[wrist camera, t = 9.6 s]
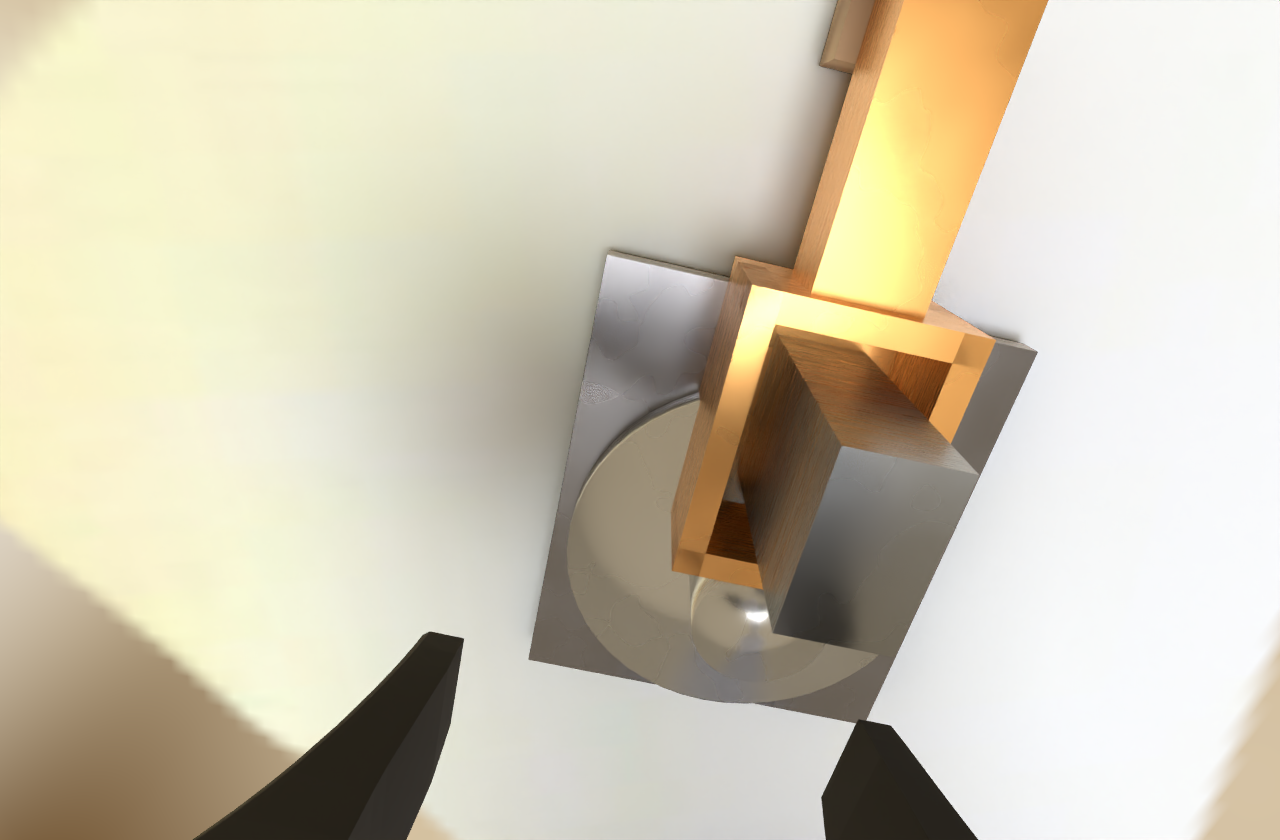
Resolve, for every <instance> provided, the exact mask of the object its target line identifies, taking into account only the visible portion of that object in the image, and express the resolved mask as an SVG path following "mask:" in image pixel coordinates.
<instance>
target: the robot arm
mask: <svg viewBox="0 0 1280 840" xmlns="http://www.w3.org/2000/svg"><path fill="white" fill-rule="evenodd" d="M463 642H464V638H459V637H454V636H449V635H444V634H439V633H435V632H428V633H426V634H424V635H422V637H421V638H420V639H419V640H418V642H417V643H416V644H415V645H414V647H413V648H412V649H411V650H410V651H409V652H408V653H407V655H406V656H405V657H404V658H403V659H402V660H401V661H400V663H399V664H398V665H397V666H396V667H395V668H394V669H393V670H392V671H391V672H390V673H389V674H388V675H387V676H386V678H385V679H384V680H383V681H382V682H381V683H380V684H379V685H378V686H377V687H376V688H375V689H374V690H373V691H372V692H371V693H370V694H369V695H368V696H367V697H366V698H365V699H364V700H363V701H362V702H361V703H360V704H359V705H358V706H357V707H356V708H355V709H354V710H353V711H351V712H350V713H349V714H348V715H347V716H346V717H345V718H344V719H343V720H342V721H341V722H340V723H339V724H338V725H337V726H336V727H335V728H333V729H332V730H331V731H330V732H329V733H328V734H327V735H325V736H324V737H323V738H322V739H321V740H320V741H319V742H318V743H316V744H315V745H314V746H313V747H312V748H311V749H310V750H309V751H307V752H306V753H305V754H304V755H303V756H302V757H301V758H299V759H298V760H297V761H296V762H295V763H294V764H292V765H291V766H290V767H289V768H287V769H286V770H285V771H284V772H283V773H281V774H280V775H279V776H278V777H277V778H275V779H274V780H273V781H272V782H270V783H269V784H268V785H267V786H265V787H264V788H263V789H261V790H260V791H259V792H257V793H256V794H255V795H254V796H252V797H251V798H250V799H248V800H247V801H246V802H244V803H243V804H242V805H240V806H239V807H238V808H236V809H235V810H234V811H232V812H231V813H230V814H228V815H227V816H225V817H224V818H222V819H221V820H220V821H218V822H217V823H216V824H214V825H213V826H211V827H210V828H208V829H207V830H206V831H204V832H203V833H201V834H200V835H199V836H197V837H196V838H194V839H193V840H406V839H407V837H408V835H409V832H410V830H411V828H412V825H413V823H414V821H415V819H416V816H417V814H418V812H419V810H420V807H421V805H422V803H423V801H424V798H425V796H426V794H427V791H428V789H429V787H430V784H431V782H432V779H433V776H434V773H435V770H436V767H437V764H438V761H439V758H440V755H441V752H442V749H443V746H444V742H445V739H446V736H447V733H448V730H449V727H450V724H451V717H452V711H453V705H454V699H455V692H456V686H457V680H458V673H459V667H460V661H461V655H462V648H463ZM821 798H822V808H823V817H824V827H825V836H826V840H978V839H977V837H976V836H975V835H974V834H973V832H972V831H971V830H970V829H969V827H968V826H967V825H966V823H965V822H964V821H963V820H962V818H961V817H960V816H959V814H958V813H957V812H956V810H955V809H954V808H953V807H952V805H951V804H950V803H949V801H948V800H947V799H946V797H945V796H944V795H943V793H942V792H941V791H940V789H939V788H938V787H937V785H936V784H935V783H934V781H933V780H932V779H931V777H930V776H929V775H928V773H927V772H926V771H925V769H924V768H923V767H922V766H921V764H920V763H919V762H918V760H917V759H916V758H915V756H914V755H913V754H912V752H911V751H910V750H909V748H908V747H907V746H906V744H905V743H904V742H903V740H902V739H901V738H900V737H899V735H898V734H897V733H896V732H895V730H894V729H893V728H892V727H891V726H890V725H885V724H880V723H875V722H870V721H865V720H860V719H858V721H857V723H856V725H855V727H854V730H853V732H852V734H851V736H850V738H849V740H848V742H847V744H846V746H845V749H844V751H843V753H842V755H841V757H840V759H839V761H838V763H837V766H836V768H835V770H834V772H833V774H832V776H831V778H830V780H829V782H828V785H827V787H826V789H825V791H824V793H823V795H822V797H821Z"/></svg>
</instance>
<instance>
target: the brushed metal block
mask: <svg viewBox="0 0 1280 840" xmlns="http://www.w3.org/2000/svg"><path fill="white" fill-rule="evenodd" d="M737 470H738V475H739V479H740V484H741V489H742V493H743V498H744V503H745V507H746V512H747V517H748V521H749V526H750V531H751V535H752V540H753V544H754V549H755V554H756V558H757V563H758V568H759V572H760V577H761V582H762V586H763V591H764V596H765V600H766V605H767V610H768V614H769V619H770V623H771V628H772V633H774V634H779V635H784V636H789V637H794V638H799V639H804V640H809V641H814V642H819V643H824V644H829V645H834V646H839V647H844V648H849V649H854V650H859V651H864V652H869V653H874V654H879V655H884V656H889V657H894V658H895V656H896V653H897V651H898V649H899V647H900V645H901V643H902V641H903V638H904V636H905V634H906V632H907V630H908V628H909V625H910V623H911V621H912V619H913V617H914V615H915V613H916V610H917V608H918V606H919V604H920V602H921V600H922V598H923V595H924V593H925V591H926V589H927V587H928V585H929V583H930V580H931V578H932V576H933V574H934V572H935V570H936V568H937V565H938V563H939V561H940V559H941V557H942V555H943V552H944V550H945V548H946V546H947V544H948V542H949V540H950V537H951V535H952V533H953V531H954V529H955V527H956V525H957V522H958V520H959V518H960V516H961V514H962V512H963V510H964V507H965V505H966V503H967V501H968V499H969V497H970V495H971V492H972V490H973V488H974V486H975V484H976V482H977V480H978V477H979V474H978V473H977V472H976V471H975V470H974V469H973V468H972V466H971V465H970V464H969V463H968V462H967V461H966V460H965V459H964V458H963V457H962V456H961V455H960V454H959V453H958V451H957V450H956V449H955V448H954V447H953V446H952V445H951V444H950V443H949V442H948V441H947V440H946V439H945V438H944V436H943V435H942V434H941V433H940V432H939V431H938V430H937V429H936V428H935V427H934V426H933V425H932V424H931V422H930V421H929V420H928V419H927V418H926V417H925V416H924V415H923V414H922V413H921V412H920V411H919V410H918V409H917V407H916V406H915V405H914V404H913V403H912V402H911V401H910V400H909V399H908V398H907V397H906V396H905V395H904V394H903V392H902V391H901V390H900V389H899V388H898V387H897V386H896V385H895V384H894V383H893V382H892V381H891V380H890V378H889V377H888V376H887V375H886V374H885V373H884V372H883V371H882V370H881V369H880V368H879V367H878V366H877V365H876V363H875V362H874V361H873V360H872V359H871V358H870V357H869V356H868V355H867V354H866V353H864V352H859V351H855V350H850V349H846V348H841V347H837V346H832V345H828V344H824V343H819V342H815V341H810V340H806V339H801V338H797V337H792V336H788V335H783V334H779V333H777V337H776V340H775V343H774V346H773V350H772V353H771V356H770V360H769V363H768V366H767V369H766V373H765V376H764V379H763V382H762V386H761V389H760V392H759V396H758V399H757V402H756V405H755V409H754V412H753V415H752V418H751V422H750V425H749V428H748V432H747V435H746V438H745V441H744V445H743V448H742V451H741V454H740V458H739V461H738V464H737Z"/></svg>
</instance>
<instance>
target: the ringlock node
mask: <svg viewBox="0 0 1280 840" xmlns="http://www.w3.org/2000/svg"><path fill="white" fill-rule="evenodd" d="M1047 2H1048V0H838V2H837V6H836V9H835V13H834V16H833V20H832V23H831V27H830V30H829V34H828V37H827V41H826V44H825V48H824V51H823V55H822V58H821V62H820V65H819V66H822V67H826V68H830V69H834V70H838V71H842V72H846V73H851V74H852V78H851V81H850V84H849V87H848V91H847V94H846V97H845V101H844V104H843V107H842V111H841V114H840V117H839V120H838V124H837V127H836V130H835V134H834V137H833V140H832V144H831V147H830V150H829V153H828V157H827V160H826V163H825V167H824V170H823V173H822V176H821V180H820V183H819V186H818V190H817V193H816V196H815V200H814V203H813V206H812V209H811V213H810V216H809V219H808V223H807V226H806V229H805V233H804V236H803V239H802V242H801V246H800V249H799V252H798V256H797V259H796V262H795V265H794V269H790V268H786V267H781V266H777V265H773V264H768V263H764V262H759V261H755V260H751V259H746V258H742V257H737V256H735V259H734V263H733V267H732V270H731V274H730V277H726V276H722V275H717V274H713V273H708V272H704V271H700V270H695V269H691V268H686V267H682V266H678V265H673V264H669V263H664V262H660V261H655V260H651V259H647V258H642V257H638V256H633V255H629V254H624V253H620V252H616V251H611V250H609V252H608V254H607V258H606V263H605V268H604V273H603V278H602V284H601V289H600V294H599V299H598V304H597V309H596V314H595V320H594V325H593V330H592V335H591V340H590V345H589V350H588V356H587V361H586V366H585V371H584V376H583V381H582V386H581V392H580V397H579V402H578V407H577V412H576V417H575V422H574V428H573V433H572V438H571V443H570V448H569V453H568V458H567V464H566V469H565V474H564V479H563V484H562V489H561V495H560V500H559V505H558V510H557V515H556V520H555V525H554V531H553V536H552V541H551V546H550V551H549V556H548V561H547V567H546V572H545V577H544V582H543V587H542V592H541V597H540V603H539V608H538V613H537V618H536V623H535V628H534V633H533V639H532V644H531V649H530V654H529V660H534V661H539V662H544V663H549V664H554V665H559V666H565V667H570V668H575V669H580V670H585V671H590V672H595V673H601V674H606V675H611V676H616V677H621V678H626V679H631V680H637V681H642V682H647V683H652V684H657V685H659V686H661V687H664V688H666V689H669V690H672V691H675V692H677V693H680V694H683V695H687V696H691V697H695V698H699V699H703V700H710V701H717V702H724V703H755V704H760V705H765V706H770V707H775V708H781V709H786V710H791V711H796V712H801V713H806V714H811V715H817V716H822V717H827V718H832V719H837V720H842V721H847V722H853V723H857V721H858V719H860V720H865V721H866V719H867V717H868V715H869V713H870V711H871V709H872V706H873V704H874V702H875V700H876V698H877V696H878V694H879V691H880V689H881V687H882V685H883V683H884V681H885V679H886V676H887V674H888V672H889V670H890V668H891V666H892V664H893V661H894V659H895V658H894V657H889V656H884V655H879V654H874V653H869V652H864V651H859V650H854V649H849V648H844V647H839V646H834V645H829V644H824V643H819V642H814V641H809V640H804V639H799V638H794V637H789V636H784V635H779V634H774V633H772V628H771V623H770V619H769V614H768V610H767V605H766V600H765V596H764V591H763V586H762V582H761V577H760V572H759V568H758V563H757V558H756V554H755V549H754V544H753V540H752V535H751V531H750V526H749V521H748V517H747V512H746V507H745V503H744V498H743V493H742V489H741V484H740V479H739V475H738V470H737V464H738V461H739V458H740V454H741V451H742V448H743V445H744V441H745V438H746V435H747V432H748V428H749V425H750V422H751V418H752V415H753V412H754V409H755V405H756V402H757V399H758V396H759V392H760V389H761V386H762V382H763V379H764V376H765V373H766V369H767V366H768V363H769V360H770V356H771V353H772V350H773V346H774V343H775V340H776V337H777V333H779V334H783V335H788V336H792V337H797V338H801V339H806V340H810V341H815V342H819V343H824V344H828V345H832V346H837V347H841V348H846V349H850V350H855V351H859V352H864V353H866V354H867V355H868V356H869V357H870V358H871V359H872V360H873V361H874V362H875V363H876V365H877V366H878V367H879V368H880V369H881V370H882V371H883V372H884V373H885V374H886V375H887V376H888V377H889V378H890V380H891V381H892V382H893V383H894V384H895V385H896V386H897V387H898V388H899V389H900V390H901V391H902V392H903V394H904V395H905V396H906V397H907V398H908V399H909V400H910V401H911V402H912V403H913V404H914V405H915V406H916V407H917V409H918V410H919V411H920V412H921V413H922V414H923V415H924V416H925V417H926V418H927V419H928V420H929V421H930V422H931V424H932V425H933V426H934V427H935V428H936V429H937V430H938V431H939V432H940V433H941V434H942V435H943V436H944V438H945V439H946V440H947V441H948V442H949V443H950V444H951V445H952V446H953V447H954V448H955V449H956V450H957V451H958V453H959V454H960V455H961V456H962V457H963V458H964V459H965V460H966V461H967V462H968V463H969V464H970V465H971V466H972V468H973V469H974V470H975V471H976V472H977V473H978V474H979V477H980V475H981V473H982V471H983V468H984V466H985V464H986V462H987V460H988V458H989V456H990V453H991V451H992V449H993V447H994V445H995V443H996V441H997V438H998V436H999V434H1000V432H1001V430H1002V428H1003V426H1004V423H1005V421H1006V419H1007V417H1008V415H1009V413H1010V411H1011V408H1012V406H1013V404H1014V402H1015V400H1016V398H1017V396H1018V393H1019V391H1020V389H1021V387H1022V385H1023V383H1024V381H1025V378H1026V376H1027V374H1028V372H1029V370H1030V368H1031V366H1032V363H1033V361H1034V359H1035V357H1036V355H1037V353H1038V352H1037V351H1035V350H1034V349H1032V348H1030V347H1028V346H1027V345H1025V344H1023V343H1018V342H1014V341H1009V340H1005V339H1000V338H996V337H992V336H989V335H987V334H986V333H984V332H982V331H981V330H979V329H977V328H976V327H974V326H972V325H971V324H969V323H968V322H966V321H964V320H963V319H961V318H959V317H958V316H956V315H954V314H953V313H951V312H950V311H948V310H946V309H945V308H943V307H941V306H940V305H938V304H936V303H935V302H933V301H931V300H932V297H933V295H934V292H935V290H936V287H937V285H938V282H939V279H940V277H941V274H942V272H943V269H944V267H945V264H946V261H947V259H948V256H949V254H950V251H951V249H952V246H953V243H954V241H955V238H956V236H957V233H958V231H959V228H960V226H961V223H962V220H963V218H964V215H965V213H966V210H967V208H968V205H969V202H970V200H971V197H972V195H973V192H974V190H975V187H976V184H977V182H978V179H979V177H980V174H981V172H982V169H983V167H984V164H985V161H986V159H987V156H988V154H989V151H990V149H991V146H992V143H993V141H994V138H995V136H996V133H997V131H998V128H999V125H1000V123H1001V120H1002V118H1003V115H1004V113H1005V110H1006V108H1007V105H1008V102H1009V100H1010V97H1011V95H1012V92H1013V90H1014V87H1015V84H1016V82H1017V79H1018V77H1019V74H1020V72H1021V69H1022V66H1023V64H1024V61H1025V59H1026V56H1027V54H1028V51H1029V49H1030V46H1031V43H1032V41H1033V38H1034V36H1035V33H1036V31H1037V28H1038V25H1039V23H1040V20H1041V18H1042V15H1043V13H1044V10H1045V7H1046V5H1047ZM979 477H978V479H979ZM977 481H978V480H977ZM976 483H977V482H976ZM975 486H976V484H975ZM975 486H974V488H975ZM974 488H973V490H974ZM973 490H972V492H973ZM972 492H971V494H972ZM970 496H971V495H970ZM969 498H970V497H969ZM968 501H969V499H968ZM968 501H967V503H968ZM967 503H966V505H967ZM966 505H965V507H966ZM965 507H964V509H965ZM963 511H964V510H963ZM962 513H963V512H962ZM961 516H962V514H961ZM961 516H960V518H961ZM960 518H959V520H960ZM959 520H958V522H959ZM958 522H957V524H958ZM956 526H957V525H956ZM955 528H956V527H955ZM954 531H955V529H954ZM954 531H953V533H954ZM953 533H952V535H953ZM952 535H951V537H952ZM951 537H950V539H951ZM949 541H950V540H949ZM948 543H949V542H948ZM947 546H948V544H947ZM947 546H946V548H947ZM946 548H945V550H946ZM945 550H944V552H945ZM944 552H943V554H944ZM942 556H943V555H942ZM941 558H942V557H941ZM940 561H941V559H940ZM940 561H939V563H940ZM939 563H938V565H939ZM938 565H937V567H938ZM936 569H937V568H936ZM935 571H936V570H935ZM934 573H935V572H934ZM933 576H934V574H933ZM933 576H932V578H933ZM932 578H931V580H932ZM931 580H930V582H931ZM929 584H930V583H929ZM928 586H929V585H928ZM927 589H928V587H927ZM927 589H926V591H927ZM926 591H925V593H926ZM925 593H924V595H925ZM924 595H923V597H924ZM922 599H923V598H922ZM921 601H922V600H921ZM920 604H921V602H920ZM920 604H919V606H920ZM919 606H918V608H919ZM918 608H917V610H918ZM917 610H916V612H917ZM915 614H916V613H915ZM914 616H915V615H914ZM913 619H914V617H913ZM913 619H912V621H913ZM912 621H911V623H912ZM911 623H910V625H911ZM910 625H909V627H910ZM908 629H909V628H908ZM907 631H908V630H907ZM906 634H907V632H906ZM906 634H905V636H906ZM905 636H904V638H905ZM904 638H903V640H904ZM902 642H903V641H902ZM901 644H902V643H901ZM900 646H901V645H900ZM899 649H900V647H899ZM899 649H898V651H899ZM898 651H897V653H898ZM897 653H896V655H897ZM895 657H896V656H895Z"/></svg>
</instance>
